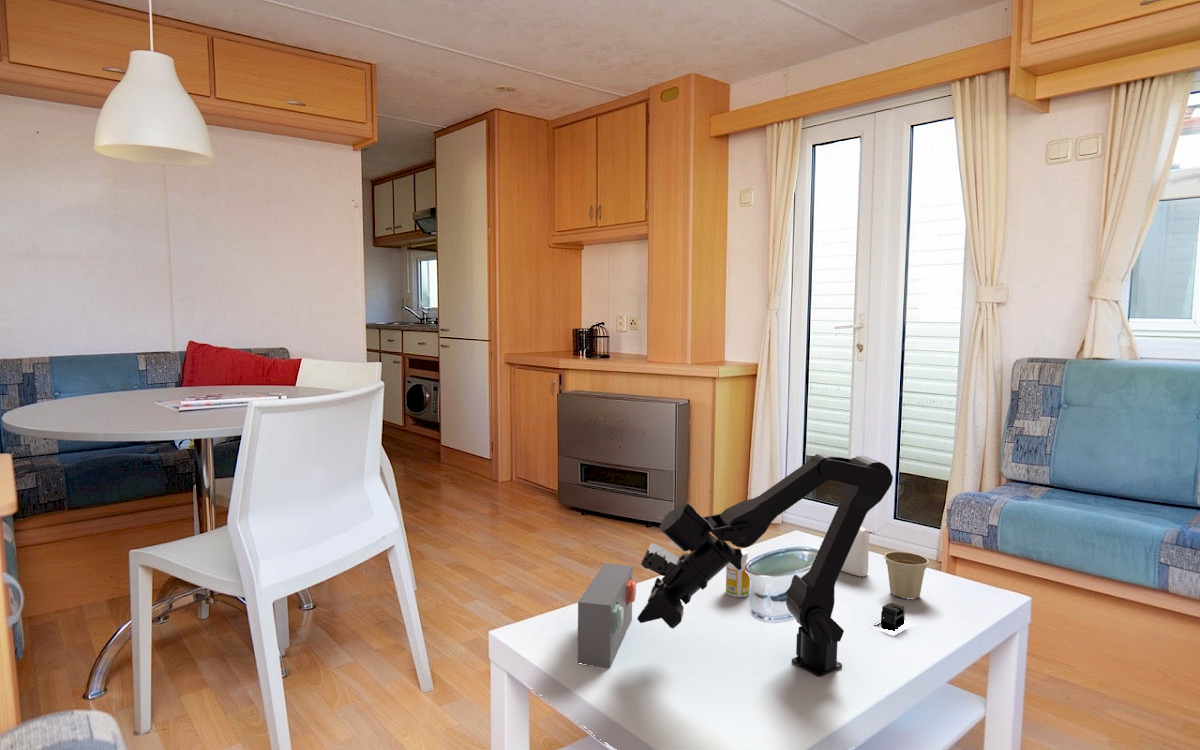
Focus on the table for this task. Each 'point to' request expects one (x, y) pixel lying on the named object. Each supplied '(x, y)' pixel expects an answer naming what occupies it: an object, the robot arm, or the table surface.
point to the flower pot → (905, 573)
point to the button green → (617, 617)
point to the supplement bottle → (738, 579)
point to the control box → (603, 615)
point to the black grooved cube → (891, 616)
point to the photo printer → (858, 555)
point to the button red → (631, 591)
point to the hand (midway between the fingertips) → (639, 620)
